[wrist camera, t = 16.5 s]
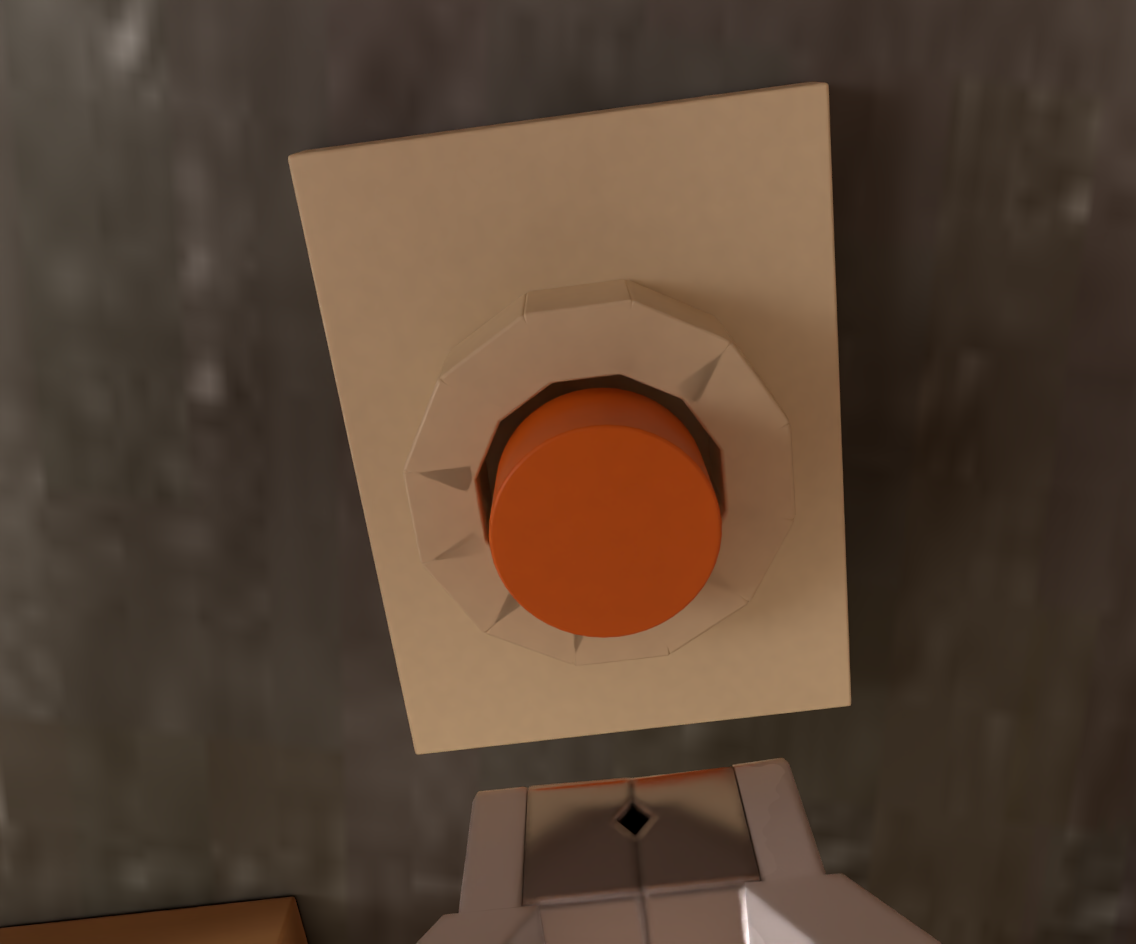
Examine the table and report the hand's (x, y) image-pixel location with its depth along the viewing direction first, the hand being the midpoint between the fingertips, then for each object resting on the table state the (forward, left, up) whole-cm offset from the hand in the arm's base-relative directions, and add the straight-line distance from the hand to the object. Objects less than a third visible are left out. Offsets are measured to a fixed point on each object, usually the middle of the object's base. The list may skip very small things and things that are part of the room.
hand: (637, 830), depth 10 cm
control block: (0, 0, -11) cm, 11 cm away
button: (0, 0, -8) cm, 8 cm away
